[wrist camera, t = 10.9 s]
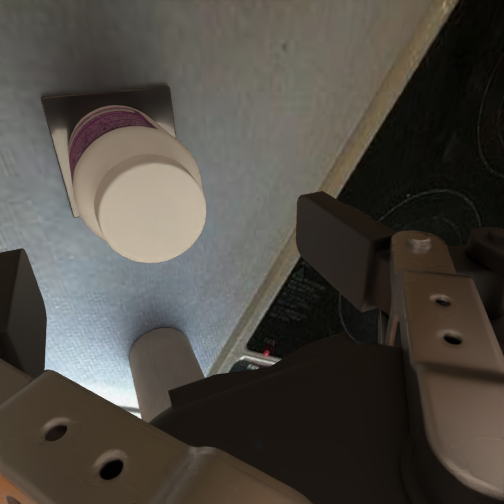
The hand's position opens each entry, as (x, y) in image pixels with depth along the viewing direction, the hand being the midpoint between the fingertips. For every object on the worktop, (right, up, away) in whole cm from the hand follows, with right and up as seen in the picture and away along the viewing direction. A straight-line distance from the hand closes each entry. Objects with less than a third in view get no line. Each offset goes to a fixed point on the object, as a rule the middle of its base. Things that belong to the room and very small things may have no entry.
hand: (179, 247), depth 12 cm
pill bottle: (-5, +5, +11) cm, 13 cm away
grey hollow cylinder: (-5, -8, +18) cm, 20 cm away
